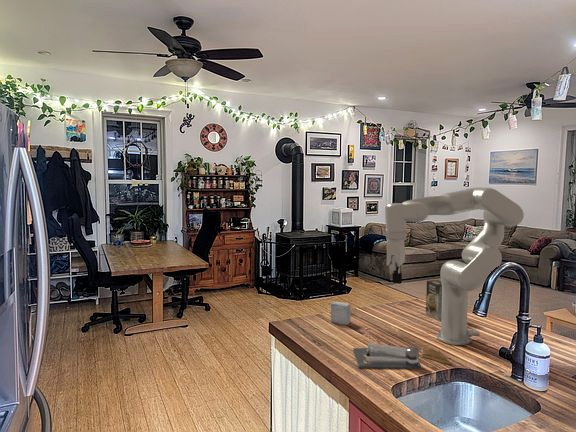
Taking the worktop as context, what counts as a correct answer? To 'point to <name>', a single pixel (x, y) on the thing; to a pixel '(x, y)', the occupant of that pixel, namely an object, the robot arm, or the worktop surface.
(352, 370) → the worktop surface
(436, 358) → the shard
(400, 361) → the divider base plate
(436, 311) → the coffee box
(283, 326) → the worktop surface
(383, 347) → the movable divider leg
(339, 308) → the medicine box
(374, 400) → the worktop surface
